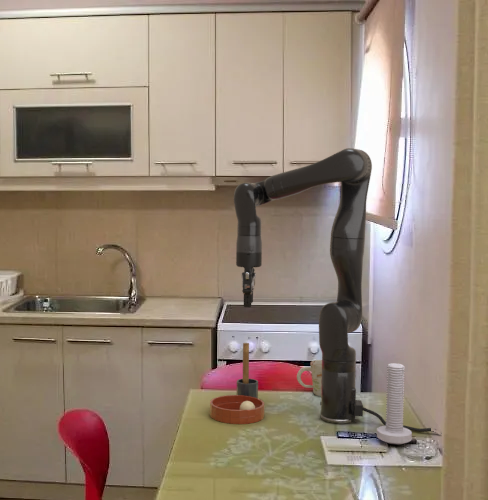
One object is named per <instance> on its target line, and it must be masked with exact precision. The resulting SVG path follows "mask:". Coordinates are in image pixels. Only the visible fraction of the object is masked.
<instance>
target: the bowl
mask: <svg viewBox="0 0 488 500" xmlns="http://www.w3.org/2000/svg"><path fill="white" fill-rule="evenodd" d="M244 401H250V402H252V403H253V404H254V405H255V409H249V410H240V405H241V404H242V403H243V402H244ZM209 416H210V418H211V419H213V420H215V421H218V422H220V423H225V424H230V425H246V424H254V423H257V422H261V421H262V420H264V419H265V401H264V400H263V399H260V398H259V397H258V398H255V397H251V396H245V395H237V394H226V395H220V396H216V397H213V398H212V399H210V401H209Z"/></svg>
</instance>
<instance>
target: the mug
mask: <svg viewBox="0 0 488 500" xmlns="http://www.w3.org/2000/svg"><path fill="white" fill-rule="evenodd" d="M304 372H310V373H311V382H312V384H305V383H304V382H303V380H302V374H303V373H304ZM296 380H297V382H298V384H299V385H301V387H303V388H306V389H312V392H313V395H315V396H317V397H321V385H322V359H315V360H312V361H310V366H302V367H301V368H300V369H299V370H298V371H297V373H296Z"/></svg>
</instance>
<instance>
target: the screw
mask: <svg viewBox="0 0 488 500" xmlns="http://www.w3.org/2000/svg"><path fill="white" fill-rule="evenodd" d="M386 369H387V372H386V376H387V377H386V378H387V379H386V402H385V403H386V404H385V408H386V409H385V410H386V411H385V413H386V414H385V415H386V416H385V421H386V425H387V426H386V425H381V426H378V427H377V428H376V438H377V439H379V440H381V441H383V442H385V443H387V444H389V445H396V446H397V445H398V446H399V445H403V444H407V443H410V442H411V441H412V439H413V436H412V435H413V431H411V430H409V429H407V428H404V427H403V425H404V407H405V405H404V404H405V403H404V400H405V398H404V397H405V393H404V392H405V370H406V368H405V365H404V364H401V363H398V362H397V363H396V362H395V363H394V362H391V363H388V364H387V367H386Z"/></svg>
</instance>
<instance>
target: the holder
mask: <svg viewBox="0 0 488 500" xmlns="http://www.w3.org/2000/svg"><path fill="white" fill-rule="evenodd" d="M236 395H245V396H251V397H255V398H258V399H259V380H258V379H255V378H249V384H245V383H243V378H238V379H236Z"/></svg>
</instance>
